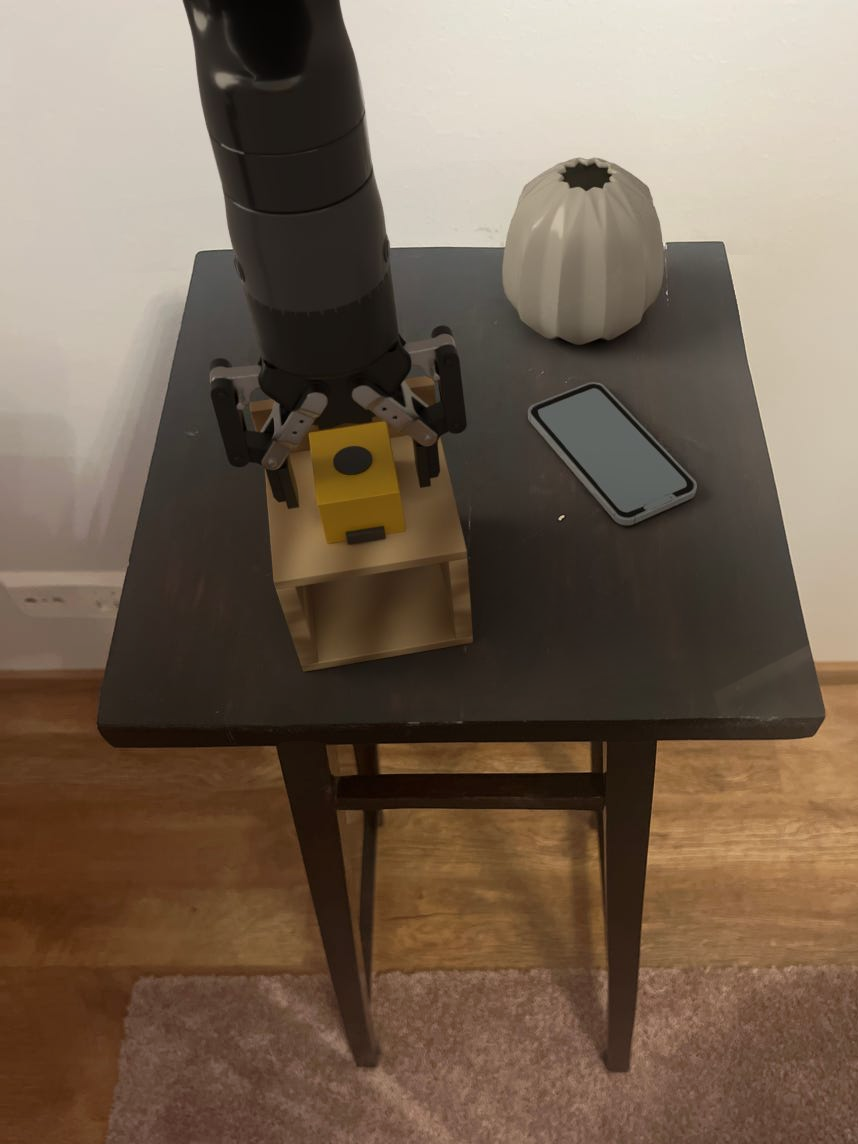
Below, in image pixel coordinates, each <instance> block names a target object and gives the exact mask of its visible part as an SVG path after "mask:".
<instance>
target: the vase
mask: <svg viewBox="0 0 858 1144" xmlns="http://www.w3.org/2000/svg"><path fill="white" fill-rule="evenodd" d="M663 242H664V241H663V233H662V227H661V221H660V219H659V216H658V213H657V209H656V207H655V205H654V199H653V196H652V193H651V190H650V188H649V186H648V185H647V184H646V183H645V182H643V181H642V180H641V179H640V178H638V176H636V175H634V174H633V173H632V172H630V171H628V170H627V169H625V168H623V167H622V166H620V165H618V164H617V163H614V162H611V161H608V160H605V159H603V158H600V157H590V158H583V157H574V158H570V159H568V160H566V161H562V162H559V163H557V164H554V165H553V166H551V167H549V168H548V169H547V170H544V171H543V172H541V173H540V174H539V175H537V176H535V177H534V178H533V179H531V180H530V181H528V183H526V184H525V185H524V186H523V188H522V190H521V193H520V195H519V196H518V201H517V204H516V207H515V210H514V213H513V215H512V217H511V219H510V222H509V227H508V231H507V234H506V240H505V246H504V250H503V259H502V267H501V268H502V269H501V275H502V287H503V291H504V295H505V297H506V298H507V300H508V301H509V302H510V304H511V305H512V306H513V308H514V309H515V310H516V311H517V313H518V316H519V320H520V321H521V322H523V323H524V324H525V325H526V326H528V327H529V328H531V329H532V330H533V331H535V332H536V333H538V334H539V335H541V337H544V338H545V339H547V340H554V339H562V340H564V341H566V342H569V343H570V344H573V345H576V346H581V345H584V344H587V343H591V342H593V341H596V340H598V339H601V340H604V341H611V340H614V339H616V338H618V337H619V336H621V335H622V334H624V333H626V332H628V331H629V330H630V329H632V328H634V327H635V326H637V325H639V324H640V323H641V321H642V320H643V316H644V313H645V312H647V310H648V309H649V308H650V307H651V306H652V305H653V303H655V302H656V300H657V299H658V297H659V295H660V291H661V289H662V285H663V280H664V279H663V278H664V269H665V268H664V264H665V263H664V261H665V260H664V243H663Z"/></svg>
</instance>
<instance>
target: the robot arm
mask: <svg viewBox="0 0 858 1144" xmlns="http://www.w3.org/2000/svg"><path fill="white" fill-rule="evenodd" d="M181 1H182V3H183V7H184V12H185V14H186V17H187V20H188V21H187V22H188V25H189V29H190V33H191V38H192V43H193V50H194V59H195V61H194V62H195V70H196V78H197V86H198V93H199V98H200V99H199V100H200V105H201V110H202V113H203V118H204V123H205V127H206V130H207V135H208V139H209V142H210V146H211V150H212V154H213V158H214V162H215V165H216V170H217V173H218V176H219V180H220V184H221V189H222V194H223V201H224V207H225V218H226V225H227V231H228V235H229V239H230V243H231V247H232V251H233V265H234V268H235V270H236V272H237V277H238V278H239V280H240V282H241V285H242V289H243V293H244V296H245V300H246V304H247V308H248V312H249V315H250V320H251V323H252V326H253V327H252V328H253V330H254V334H255V338H256V341H257V345H258V349H259V352H260V356H259V359H258V361H257V364H249V365H241V366H233V365H232V363H231V362H230V361H229V360H228V359H226V358H223V357H217V358H214V359H212V361H211V362H210V363H209V388H210V398H211V402H212V406H213V410H214V413H215V417H216V420H217V424H218V428H219V430H220V435H221V439H222V443H223V446H224V449H225V453H226V457H227V461H228V463H229V464H230V466H232V467H235V468H243V467H246V466H248V465H249V463H253V464H258V465H260V466H262V467H263V469H264V471H265V470H266V473H267V476H268V480H269V483H270V486H271V490H272V493H273V497H274V498H275V499H276V500H277V501H278V502H285V501H286V504H287V507H288V509H293V508H299V499H298V489H297V484H296V480H295V476H294V472H293V468H292V464H291V461H290V457H289V453H290V451H291V450H292V448H293V447H294V448H297V447H298V446H299V444H300V443H301V441H302V439H303V438H304V436H305V435H306V433H307V432H308V430H309V429H310V427H311V425H314V426H318V428H319V430H322V429H329V428H333V427H336V426H339V425H342V424H344V423H351V424H362V423H368V422H372V418H373V417H375V416H378V417H379V418H381V419H382V420H383V421H385V422H386V423H387V424H388V425H390V426H391V427H392V428H394V429H395V430H396V431H398V432H401V431H404V432H405V433H406V434H408V435H409V436H410V437H412V440H413V448H414V456H415V464H416V470H417V475H418V480H419V485H420V488H424V487H430V486H431V481H430V478H436V477H438V475H439V473H440V464H439V453H438V439H439V438H440V437H441V436H443V435H445V434H446V433H447V434H448V433H451V434H454V435H457V434H461V433H463V432H464V431H465V430H466V429H467V426H468V422H467V414H466V405H465V397H464V396H465V395H464V387H463V381H462V372H461V371H462V370H461V362H460V357H459V353H458V349H457V345H456V341H455V337H454V334H453V330H452V329H451V327H449V326H447V325H438V326H436V327H435V328H433V330H432V331H431V333H430V336H431V338H426V339H419V340H415V341H409V342H407V341H406V340H405V339H404V337H402V335H401V334H400V332H399V325H398V316H397V309H396V301H395V291H394V284H393V277H392V276H393V275H392V268H391V267H392V266H391V259H390V257H391V243H390V239H389V236H388V233H387V227H386V219H385V218H386V217H385V212H384V207H383V201H382V198H381V194H380V190H379V188H378V184H377V179H376V176H375V171H374V165H373V159H372V152H371V144H370V136H369V128H368V120H367V113H366V101H365V96H364V90H363V83H362V78H361V74H360V70H359V67H358V62H357V58H356V55H355V54H356V53H355V51H354V48H353V45H352V42H351V39H350V36H349V33H348V30H347V27H346V24H345V21H344V16H343V12H342V11H343V10H342V6H341V0H181ZM412 367H418V368H420V369H422V371H423V374H424V376H427V377H429V378H432V380H433V381H434V382H437V386H438V393H439V401H438V402H437V401H436V403H435V404H433V405H431V406H428V405H427V404H426V403H425V402H424V401H422V400H421V399H420V398H419V397H418V396H416V395H415V394H414V393H413V392H412V391H411V390H410V388H409V386H408V385H407V383H406V382H405V381H404V380H405V379H407V377H408V375H409V374H410V372H411V370H412ZM258 389H260V390H261V391H262V392H263V394H264V395H266V396H267V397H268V398H269V399H273V400H274V401H275V402H274V404H273V409H272V413H271V415H270V416H269V418H268V420H267V421H266V423H265V425H264V426H263V428H262V430H261V431H260V432H256V430H248V426H247V422H246V418H245V415H244V410H245V408H246V406H248V405H250V402H252V394H253V392H255V391H256V390H258Z"/></svg>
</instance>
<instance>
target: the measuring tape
mask: <svg viewBox="0 0 858 1144" xmlns="http://www.w3.org/2000/svg"><path fill="white" fill-rule="evenodd" d="M309 441H310V449H311V458H312V466H313V474H314V482H315V491H316V499H317V506H318V510H319V514H320V518H321V522H322V526H323V530H324V534H325V538H326V542H327V544H330V543H336V542H343V541H347V543H348V545H349V544H355V543H361V542H368V541H374V540H380V539H385V538H386V534H392V533H398V532H404V531H405V523H404V516H403V509H402V502H401V495H400V489H399V484H398V479H397V473H396V468H395V463H394V458H393V452H392V447H391V442H390V437H389V431H388V426H387V423H386V422H385V421H383V422H376V423H369V424H363V425H356V426H350V427H343V428H337V429H330V430H324V431H317V432H311V433H309Z"/></svg>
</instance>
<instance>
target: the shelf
mask: <svg viewBox="0 0 858 1144" xmlns="http://www.w3.org/2000/svg"><path fill="white" fill-rule="evenodd" d="M404 381H405V382H406V383H407V385H408V386H409V388H410V390H411V391H412V392H413V393H414V394H415V395H416V396H418V397H419V398H420V399H421V400H422V401H424V402H425V403H426V404H427V405H428V406H431V405H433V404H435V403H437V395H436V384H435V381H433V380H432V378H429V377H427V376H426V375H423V376H414V377H410V378H405V380H404ZM274 402H275V401H274V400H273V399H271V398H269V399H263V400H255V401H250V403H249V413H250V416H251V419H252V422H253V426H254V431H256V432H260V431H261V430H262V428H263V426H264V425H265V423H266V421H267V420H268V418H269V416H270V415H271V413H272V409H273V404H274ZM376 422H383V420H382V419H381V418H379V417H378V416H375V417H373V418H372V422H368V423H362V424H351V423H344V424H342V425H339V426H336V427H333V428H329V429H322V430H319V428H318V426H314V425H311V427H310V429H309V430H308V432H307V433H306V435H305V436H304V438H303V439H302V441H301V443H300V444H299V446H298V447H297V448H294V447H293V448H292V450H291V451H290V453H289V457H290V461H291V464H292V468H293V472H294V476H295V480H296V484H297V489H298V499H299V508H293V509H288V507H287V504H286V501H285V502H278V501H277V500H276V499H275V498H274V497H273V493H272V490H271V486H270V483H269V480H268V476H267V473H266V470H265V469H264V479H265V489H266V490H265V492H266V502H267V503H266V505H267V515H268V517H267V518H268V530H269V543H270V554H271V567H272V577H273V578H272V580H273V584H274V585H273V586H274V588H275V589H276V590H275V591H276V594H277V597H278V600H279V603H280V606H281V609H282V612H283V616H284V617H285V622H286V625H287V627H288V630H289V633H290V636H291V639H292V642H293V645H294V648H295V651H296V655H297V657H298V659H299V663H300V666H301V669H302V672H305V673H306V672H310V671H316V670H323V669H329V668H333V667H340V666H346V665H351V664H352V665H353V664H357V663H362V662H369V661H370V662H371V661H376V660H381V659H386V658H392V657H393V658H394V657H399V656H405V655H410V654H416V653H421V652H428V651H433V650H439V649H444V648H445V649H446V648H450V647H451V648H452V647H456V646H463V645H468V644H473V643H474V634H473V618H472V604H471V592H470V591H471V589H470V577H469V576H470V575H469V562H468V561H469V560H468V549H467V546H466V541H465V536H464V532H463V528H462V523H461V520H460V515H459V511H458V506H457V502H456V497H455V495H454V490H453V486H452V480H451V476H450V473H449V468H448V463H447V459H446V457H445V455H446V454H445V450H444V447H443V441H442V438H441V436H440V438H439V439H438V453H439V464H440V473H439V475H438V477H436V478H430V481H431V486H430V487H424V488H420V485H419V480H418V475H417V470H416V464H415V456H414V448H413V440H412V437H410V436H409V435H408V434H406V433H405V432H404V431H401V432H398V431H396V430H395V429H394V428H392V427H391V426H390V425H388V424H387V426H388V431H389V437H390V442H391V447H392V452H393V458H394V463H395V468H396V473H397V479H398V484H399V489H400V495H401V502H402V509H403V516H404V523H405V531H404V532H398V533H392V534H386V538H385V539H380V540H374V541H368V542H361V543H355V544H349V545H348V543H347V541H343V542H336V543H330V544H327V542H326V538H325V534H324V530H323V526H322V522H321V518H320V514H319V510H318V506H317V499H316V491H315V482H314V474H313V466H312V458H311V449H310V441H309V433H311V432H317V431H324V430H330V429H337V428H343V427H350V426H356V425H363V424H369V423H376Z"/></svg>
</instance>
